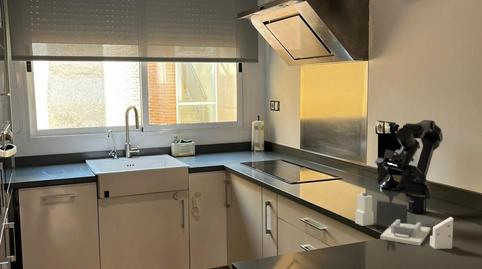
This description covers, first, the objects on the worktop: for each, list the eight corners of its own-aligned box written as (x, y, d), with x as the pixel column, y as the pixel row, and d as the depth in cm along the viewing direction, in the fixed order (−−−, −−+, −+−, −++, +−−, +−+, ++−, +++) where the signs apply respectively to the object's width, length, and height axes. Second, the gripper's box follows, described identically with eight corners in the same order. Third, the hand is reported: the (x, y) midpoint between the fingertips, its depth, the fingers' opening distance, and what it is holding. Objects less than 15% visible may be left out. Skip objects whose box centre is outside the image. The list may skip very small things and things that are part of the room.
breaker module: (365, 221, 187) (366, 191, 186) (373, 224, 183) (374, 193, 182) (355, 222, 185) (355, 192, 184) (362, 226, 181) (363, 195, 180)
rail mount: (393, 225, 182) (394, 214, 181) (430, 230, 175) (430, 220, 175) (380, 238, 167) (380, 227, 166) (419, 245, 160) (420, 233, 159)
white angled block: (465, 240, 157) (453, 218, 156) (438, 256, 157) (426, 234, 156) (460, 237, 161) (448, 215, 160) (433, 252, 161) (421, 230, 160)
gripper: (377, 137, 190) (358, 170, 187) (416, 145, 174) (395, 181, 172) (392, 152, 196) (373, 184, 193) (430, 161, 180) (411, 196, 177)
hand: (387, 186), depth 183 cm, fingers open, 9 cm apart
